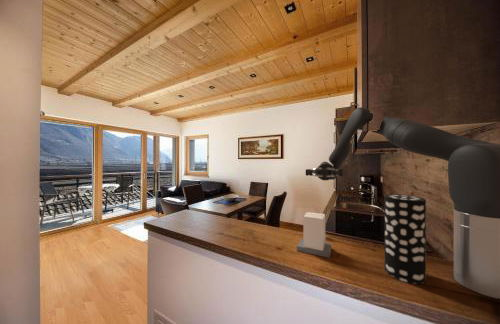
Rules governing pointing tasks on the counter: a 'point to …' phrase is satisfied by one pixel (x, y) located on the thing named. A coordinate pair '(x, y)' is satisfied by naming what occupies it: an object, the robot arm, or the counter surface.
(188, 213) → the counter surface
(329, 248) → the base plate
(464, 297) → the counter surface
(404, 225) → the white-spotted black cylinder
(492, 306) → the counter surface
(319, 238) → the block
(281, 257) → the counter surface
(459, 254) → the robot arm
